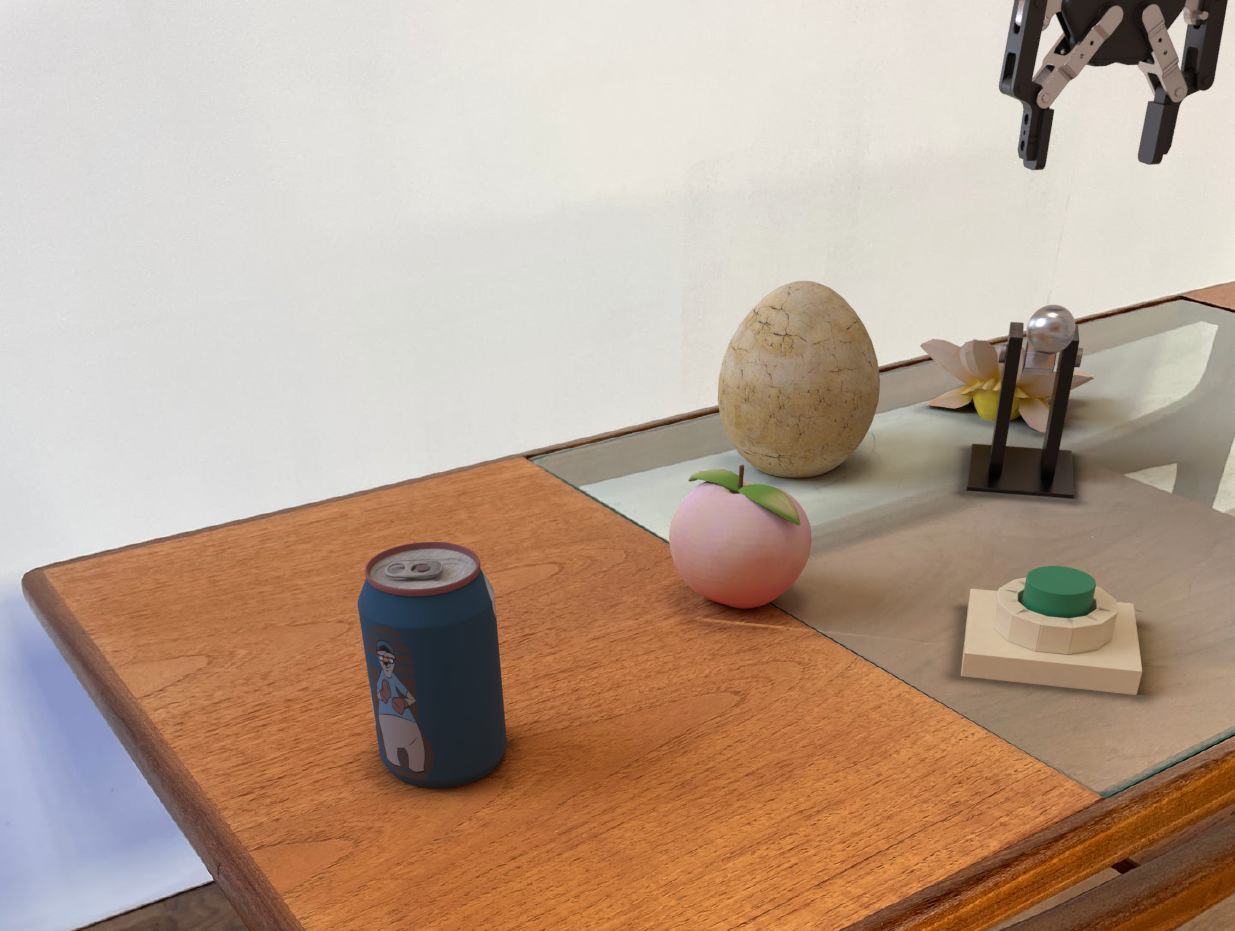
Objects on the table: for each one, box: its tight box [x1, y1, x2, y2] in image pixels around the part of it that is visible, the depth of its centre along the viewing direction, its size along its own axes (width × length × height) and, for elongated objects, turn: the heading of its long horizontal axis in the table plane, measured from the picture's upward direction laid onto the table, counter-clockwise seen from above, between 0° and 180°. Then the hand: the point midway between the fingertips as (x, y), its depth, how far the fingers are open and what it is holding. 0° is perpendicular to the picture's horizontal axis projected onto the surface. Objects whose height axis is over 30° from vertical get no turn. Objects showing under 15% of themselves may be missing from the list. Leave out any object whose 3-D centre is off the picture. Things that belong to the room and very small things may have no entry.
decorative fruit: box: [668, 464, 812, 610], centre depth 82 cm, size 9×8×10 cm
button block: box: [960, 577, 1143, 696], centre depth 78 cm, size 10×9×4 cm
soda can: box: [357, 541, 508, 789], centre depth 67 cm, size 7×7×12 cm
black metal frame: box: [966, 321, 1084, 500], centre depth 100 cm, size 10×8×12 cm
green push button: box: [1022, 565, 1097, 618], centre depth 77 cm, size 4×4×2 cm
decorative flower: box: [919, 338, 1095, 433], centre depth 113 cm, size 15×11×10 cm
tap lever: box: [1022, 304, 1076, 376], centre depth 93 cm, size 13×3×3 cm, turn 165°
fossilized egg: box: [717, 280, 881, 479], centre depth 101 cm, size 13×13×15 cm
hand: (1091, 165), depth 89 cm, fingers open, 8 cm apart
